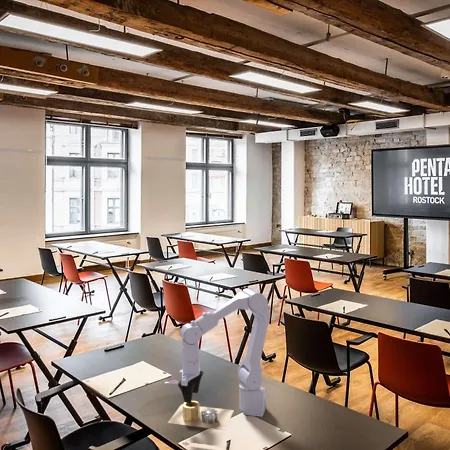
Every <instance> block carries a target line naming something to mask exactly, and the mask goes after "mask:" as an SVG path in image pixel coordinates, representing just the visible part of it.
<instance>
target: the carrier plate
mask: <svg viewBox="0 0 450 450" xmlns="http://www.w3.org/2000/svg"><path fill="white" fill-rule="evenodd" d="M183 404H184V403H183ZM183 404H180V405H179V407H178V408H177V410H176V411H175V412H174V414H173V415H172V416H171V418H170V419H169V420H168V421H167V424H172V425H174V424H175V425H182V426H187V427H189V426H190V427H197V428H206V429H214V430H215V429H216V430H221V431H222V430H223V431H224V430H226V428H227V426H228V423H229V422H230V419H231V417H232V416H233V414H234V411H235V410H234V409H226V408H218V407H210V406H200V418H199V420H198V421H195V422H186V421H185V420H184V419H183ZM206 408H207V409H211V408H213V409H214V410H217V412H218V421H217V422H215V424H212V423H211V424H206V423H203V422H202V412H201V411H204V410H205V409H206Z"/></svg>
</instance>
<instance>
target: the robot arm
mask: <svg viewBox="0 0 450 450" xmlns="http://www.w3.org/2000/svg"><path fill="white" fill-rule="evenodd" d="M268 303H269V299H267V297H265V295H264V294H262V293H261V292H258V291H256V290H254V289H253V288H251V287H247V288H244V289H243V290H242V291H239V292H237V293H236V294H235V296H233V297H232V298H231V299H230V300H228V301H227V302H225V303H224V304H222V305H221V306H220V307H218V308H217V309H216V310H214V311H207V312H206V311H204V312H202V314H201V316H199V317H198V318H196V319H195V320H194V319H193V320H191V321H190V323H185V324H184V325H182V326H181V329H180V331H179V335H180V337H181V338H182V339H181V341H182V342H181V344H182V346H181V353H182V354H181V356H182V357H181V358H182V359H181V360H182V369H180V370H179V375H181V380H180V381H179V383H178V384H177V386H178V388H179V389H180V391H181V393H182V397H183V400H184V402H185V403H191V401H193V400H192V399H193V394H198V393H199V389H200V385H201V380H202V378H203V375H204V371H203V370H201V363H200V353H199V352H200V347H199V343H200V342H199V341H200V340H201V338H202V336H203V335H205V334H207V333H208V332H209V331H212V330H213V329H215V328H216V327H217V326H218V324H219V321H220V320H222V319H224V318H225V317H227V316H229V315H230V314H232V313H234V312H236V311H238V310H245V311H249V310H250V311H251V313H252V314H253V316H254V318H253V323H252V327H251V332H250V335H249V342H248V345H247V350H246V355H245V358H244V359H243V360H242V361H241V363H240V365H239V367H238V368H237V371H236V377H237V379H238V380H239V385H238V386H239V387H238V388H239V391H238V392H239V394H238V395H239V400H238V401H239V410H240V411H241V412H243V415H245V416H250V417H251V416H252V417H260V418H262V417H263V416H264V415H265V412H266V408H267V403H266V402H267V401H266V400H267V399H266V398H267V390H266V388H265V387H262V383H263V378H262V374H263V371H262V370H263V369H262V365H261V359H262V354H263V351H264V346H265V342H266V341H265V340H266V337H267V333H268V332H267V331H268V328H269V323H270V319H271V311H270V309H269V308H270V307H269V304H268Z"/></svg>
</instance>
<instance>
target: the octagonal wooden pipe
mask: <svg viewBox="0 0 450 450" xmlns="http://www.w3.org/2000/svg"><path fill="white" fill-rule="evenodd" d="M200 405H201V404H200V402H199V401H197V400H192V401H191V403H185V401H184V402H183V419H184V420H185V421H186V422H195V421H198V420H199V418H200Z"/></svg>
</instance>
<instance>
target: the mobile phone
mask: <svg viewBox="0 0 450 450" xmlns="http://www.w3.org/2000/svg"><path fill="white" fill-rule="evenodd" d="M179 382H180V381H179V380H178V379H171V380H167V381H166V382H165V381H164V383H165V384H172V385H178V383H179Z"/></svg>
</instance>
